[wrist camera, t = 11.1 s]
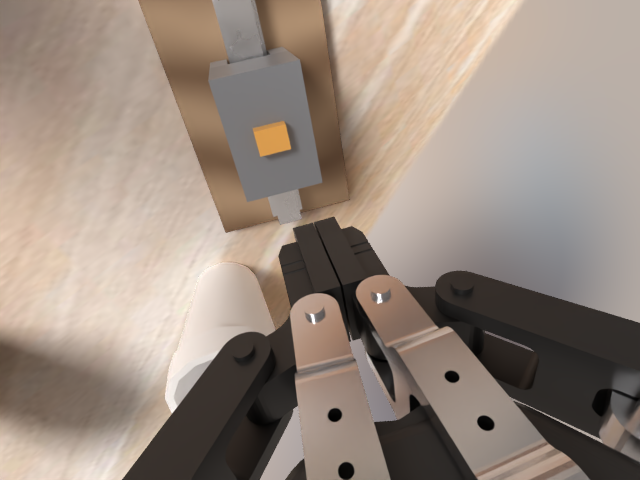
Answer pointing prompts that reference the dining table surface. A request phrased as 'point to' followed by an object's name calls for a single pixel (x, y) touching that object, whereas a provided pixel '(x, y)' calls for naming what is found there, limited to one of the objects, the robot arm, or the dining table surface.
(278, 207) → the rail
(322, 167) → the board
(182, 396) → the foam cup
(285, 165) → the block
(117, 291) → the dining table surface
